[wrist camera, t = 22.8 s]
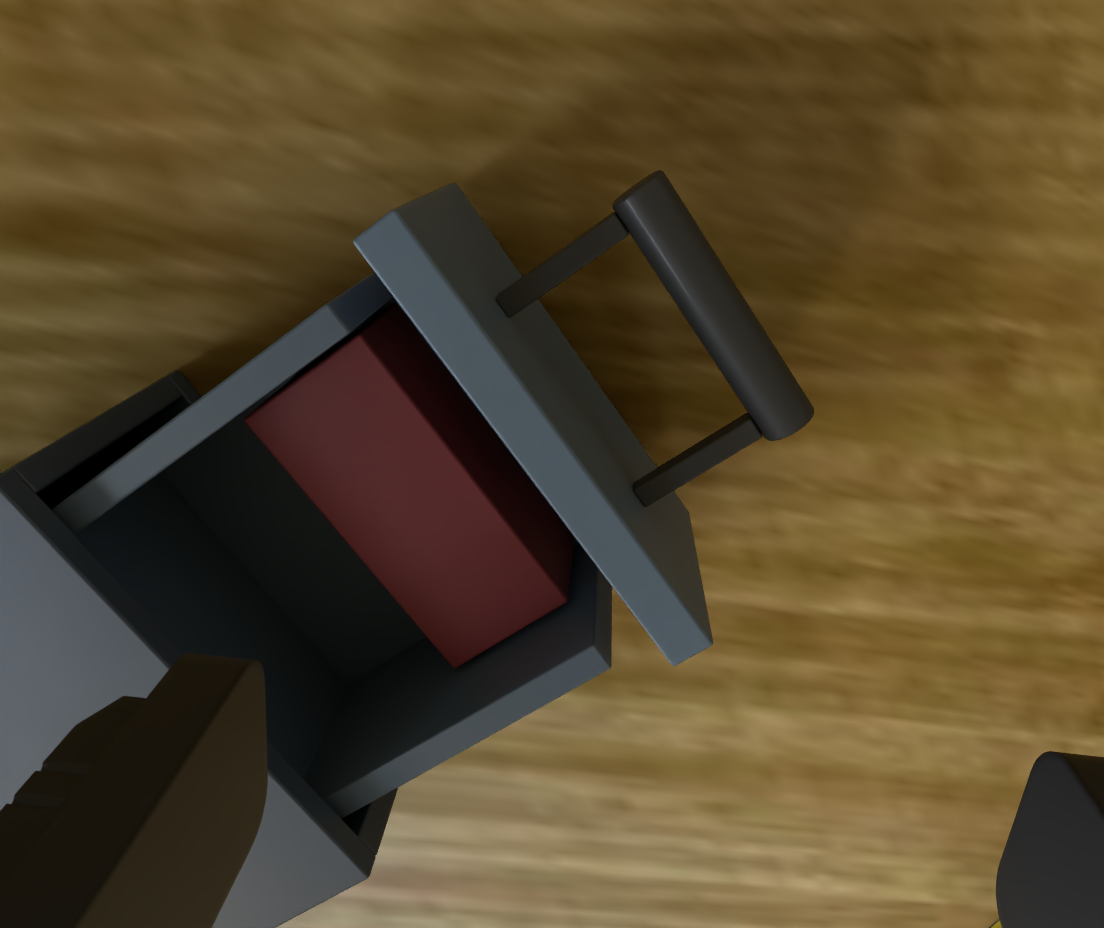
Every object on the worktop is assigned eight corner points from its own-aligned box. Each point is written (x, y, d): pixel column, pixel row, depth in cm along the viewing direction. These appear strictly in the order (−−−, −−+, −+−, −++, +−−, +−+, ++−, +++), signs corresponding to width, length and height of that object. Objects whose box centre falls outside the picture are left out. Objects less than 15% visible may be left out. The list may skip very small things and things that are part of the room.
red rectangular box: (292, 377, 27) (241, 420, 24) (395, 301, 26) (359, 332, 23) (473, 601, 30) (453, 670, 26) (575, 538, 29) (570, 601, 25)
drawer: (598, 72, 25) (591, 56, 18) (827, 431, 28) (901, 543, 21) (123, 432, 30) (-36, 537, 22) (366, 706, 33) (296, 875, 26)
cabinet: (178, 368, 30) (-10, 479, 21) (435, 671, 33) (370, 878, 24) (-109, 589, 33) (-374, 763, 24) (149, 841, 37) (1, 1074, 28)
